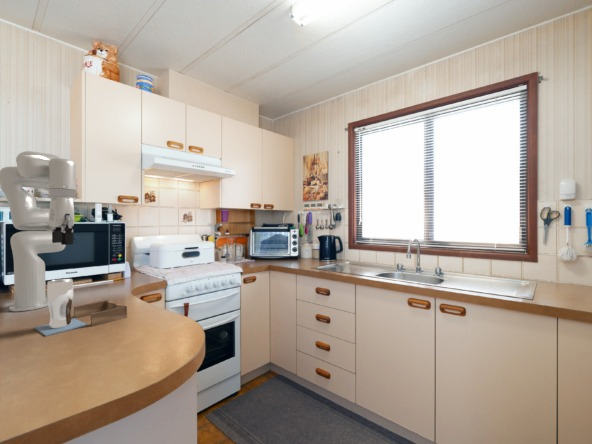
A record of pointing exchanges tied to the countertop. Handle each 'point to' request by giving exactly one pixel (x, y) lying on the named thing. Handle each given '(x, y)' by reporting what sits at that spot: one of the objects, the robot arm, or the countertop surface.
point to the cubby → (101, 311)
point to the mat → (47, 331)
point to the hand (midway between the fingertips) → (62, 243)
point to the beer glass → (60, 302)
